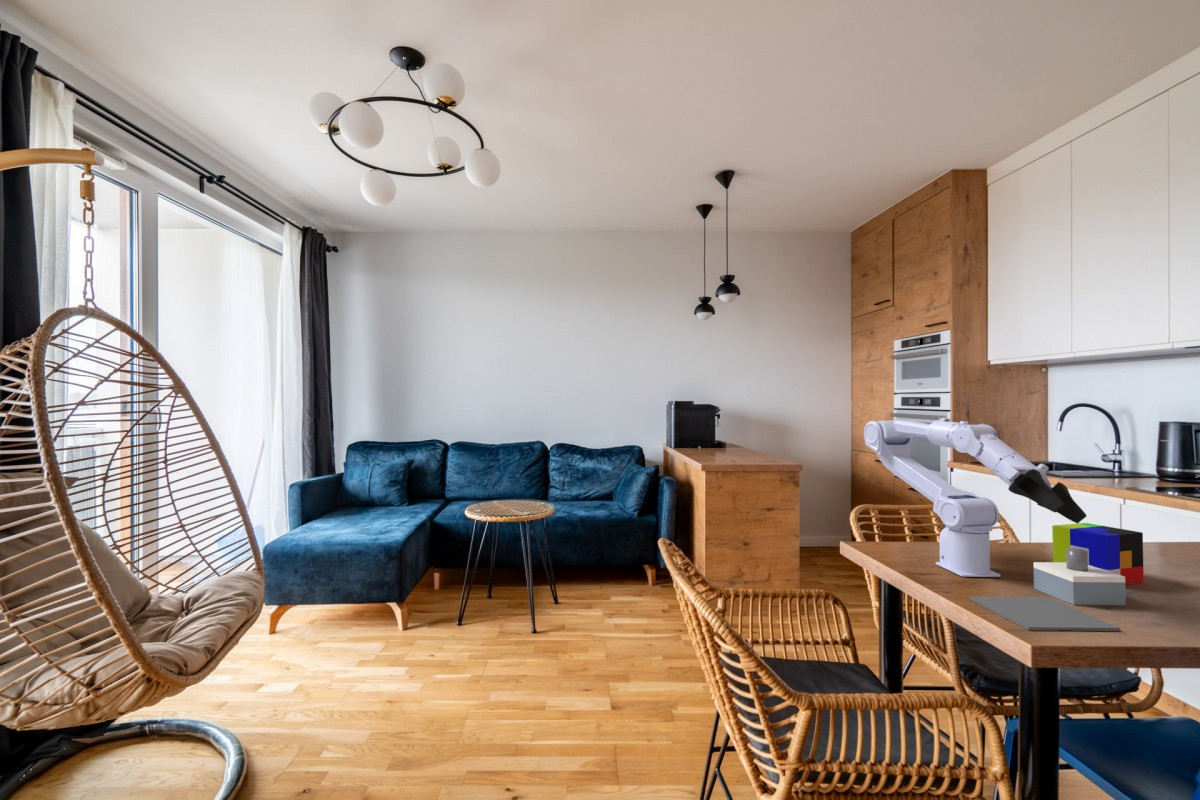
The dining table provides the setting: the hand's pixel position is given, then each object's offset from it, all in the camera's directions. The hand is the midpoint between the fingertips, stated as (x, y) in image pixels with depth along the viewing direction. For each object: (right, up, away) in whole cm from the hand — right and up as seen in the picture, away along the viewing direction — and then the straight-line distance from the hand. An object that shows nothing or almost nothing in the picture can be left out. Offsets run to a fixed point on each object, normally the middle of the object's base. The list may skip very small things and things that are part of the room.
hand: (1070, 513), depth 96 cm
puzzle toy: (+20, -17, +16) cm, 30 cm away
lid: (+5, -13, +5) cm, 15 cm away
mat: (-9, -16, -4) cm, 19 cm away
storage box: (+5, -16, +5) cm, 18 cm away
